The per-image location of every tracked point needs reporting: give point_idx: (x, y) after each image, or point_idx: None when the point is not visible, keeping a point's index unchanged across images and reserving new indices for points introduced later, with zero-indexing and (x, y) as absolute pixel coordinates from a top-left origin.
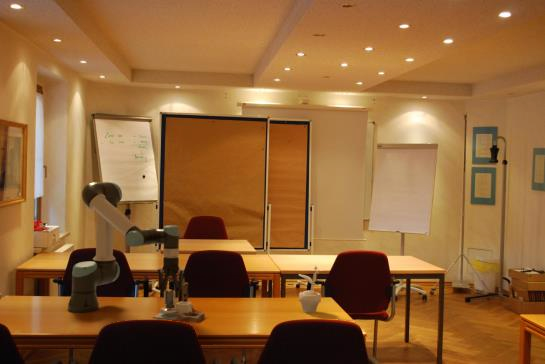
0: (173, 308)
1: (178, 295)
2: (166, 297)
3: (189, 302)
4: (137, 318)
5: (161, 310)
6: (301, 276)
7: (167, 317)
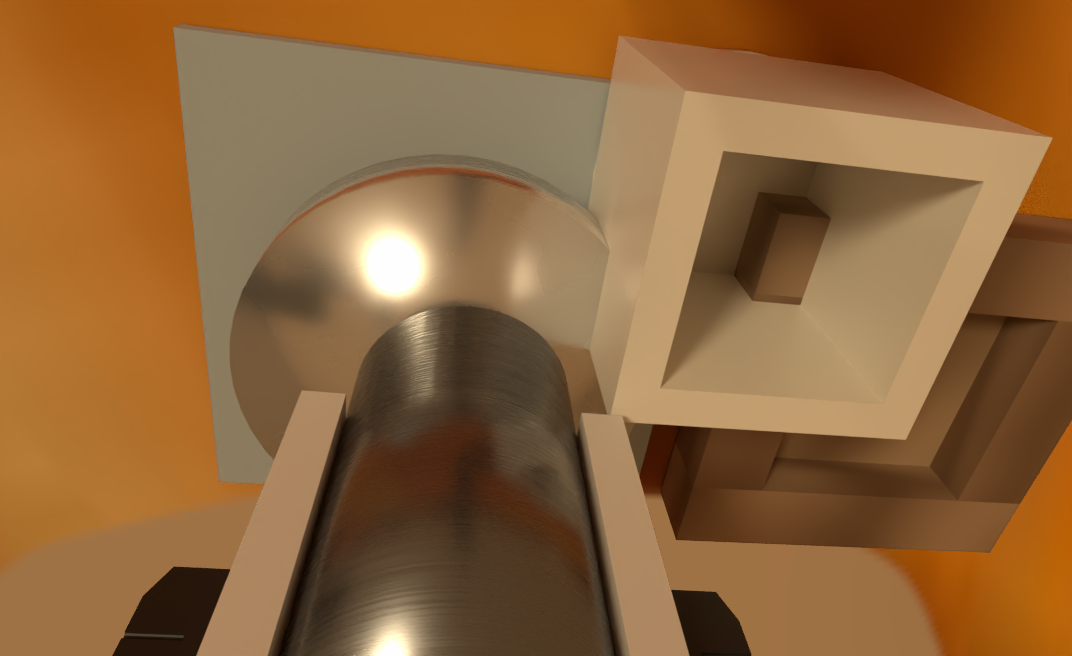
0: (520, 319)
1: (745, 652)
2: None
3: (976, 164)
4: (3, 545)
5: None
6: None
7: None
